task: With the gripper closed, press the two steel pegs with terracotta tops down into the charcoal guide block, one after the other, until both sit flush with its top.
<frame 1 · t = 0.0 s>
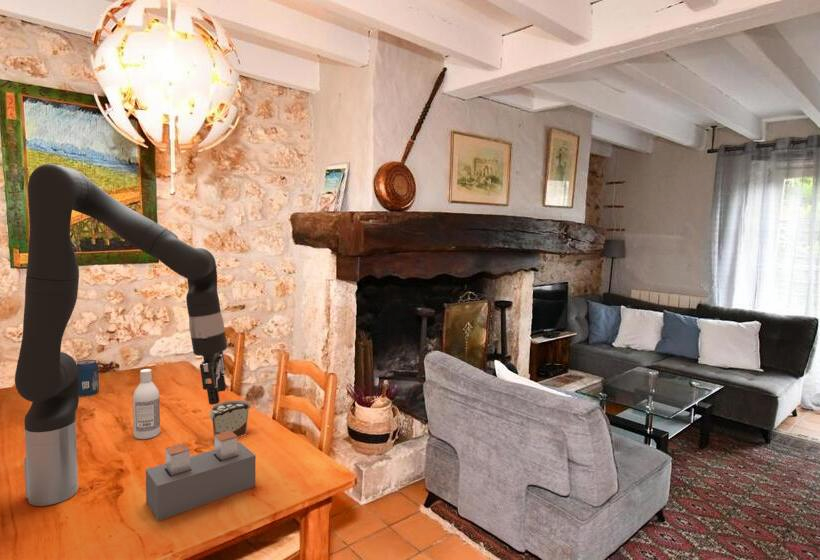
hand: (218, 397, 114), 22 cm above the table, tool pointing down, fingers open, 8 cm apart
peg near: (177, 464, 107), point 9 cm above the table, slide at 5.0 cm
soda can: (87, 394, 172), on the table
guide block: (202, 494, 112), on the table
half cake: (226, 437, 142), on the table
bath foam: (147, 435, 141), on the table
peg far: (225, 450, 115), point 9 cm above the table, slide at 5.0 cm
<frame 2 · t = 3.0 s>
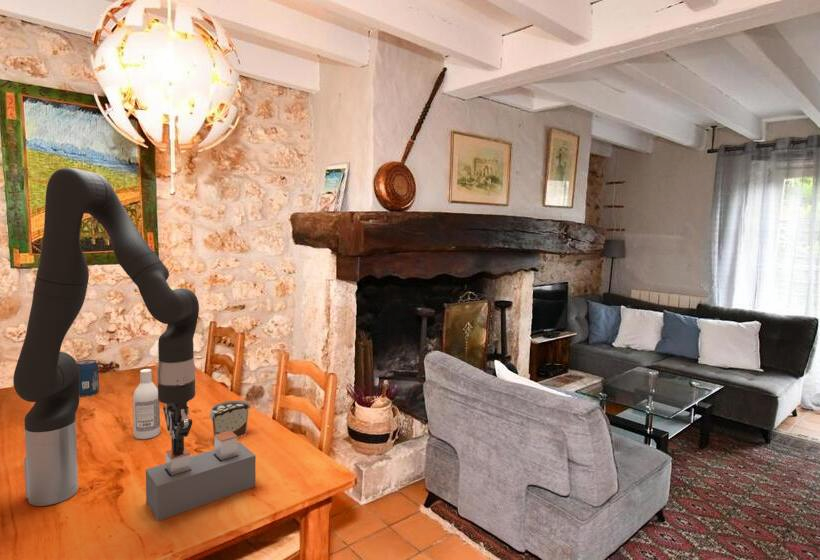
hand: (177, 452, 107), 12 cm above the table, tool pointing down, fingers closed
peg near: (177, 467, 107), point 8 cm above the table, slide at 4.1 cm, touching gripper
everything else where it was.
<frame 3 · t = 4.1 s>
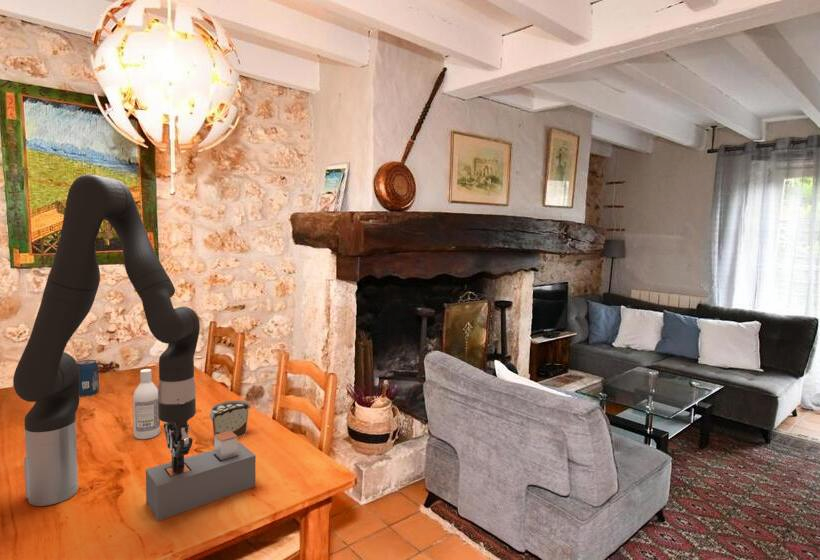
hand: (178, 469, 107), 8 cm above the table, tool pointing down, fingers closed
peg near: (178, 485, 108), point 4 cm above the table, slide at -0.1 cm, touching gripper
everything else where it was.
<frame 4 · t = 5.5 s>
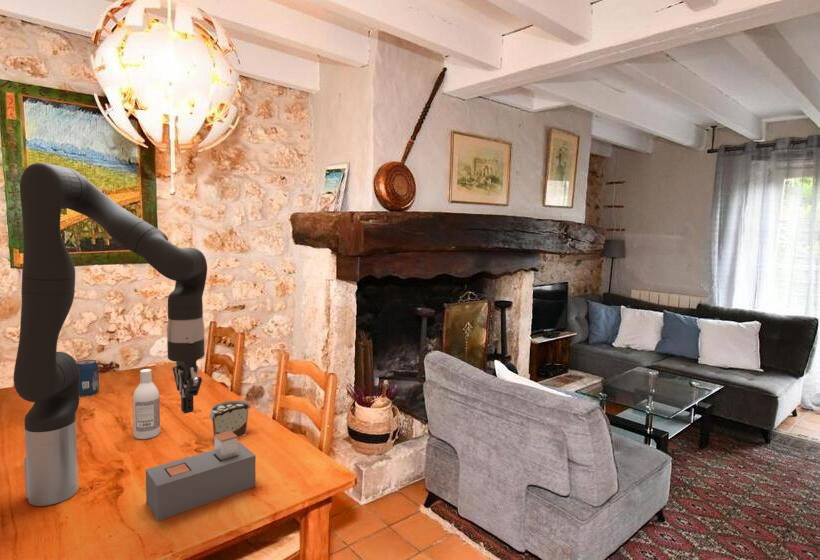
hand: (187, 411, 107), 21 cm above the table, tool pointing down, fingers closed
peg near: (178, 485, 108), point 4 cm above the table, slide at -0.1 cm
everything else where it was.
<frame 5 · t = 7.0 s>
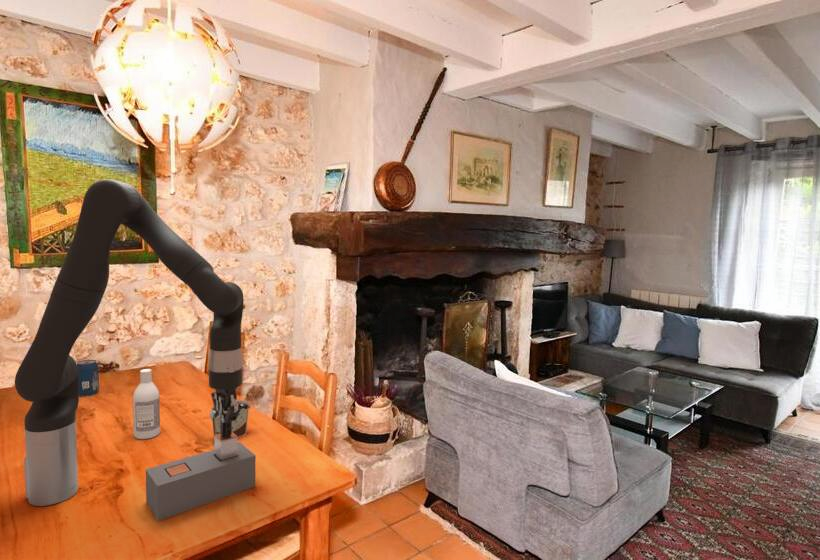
hand: (226, 435, 114), 13 cm above the table, tool pointing down, fingers closed
peg far: (225, 450, 115), point 9 cm above the table, slide at 5.0 cm, touching gripper
everything else where it was.
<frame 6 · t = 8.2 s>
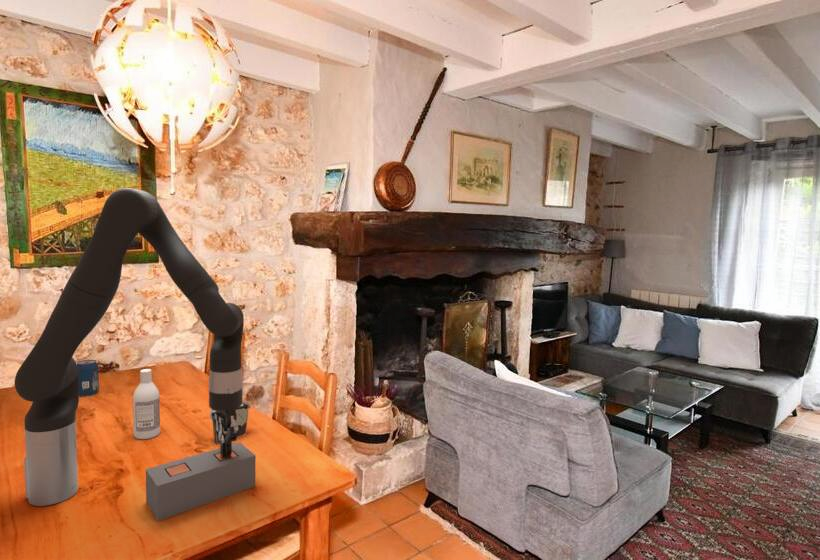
hand: (226, 455, 115), 8 cm above the table, tool pointing down, fingers closed
peg far: (225, 469, 115), point 4 cm above the table, slide at -0.1 cm, touching gripper
everything else where it was.
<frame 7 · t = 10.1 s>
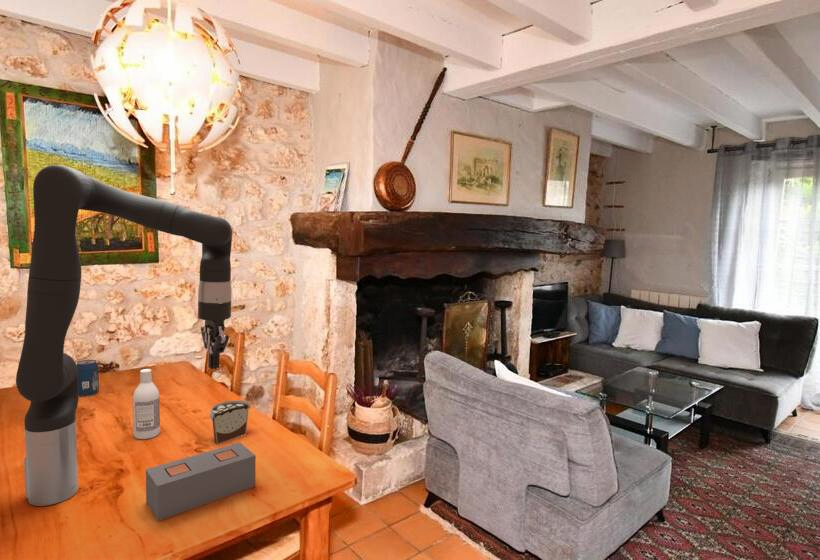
hand: (213, 367, 117), 29 cm above the table, tool pointing down, fingers closed
peg far: (225, 469, 115), point 4 cm above the table, slide at -0.1 cm
everything else where it was.
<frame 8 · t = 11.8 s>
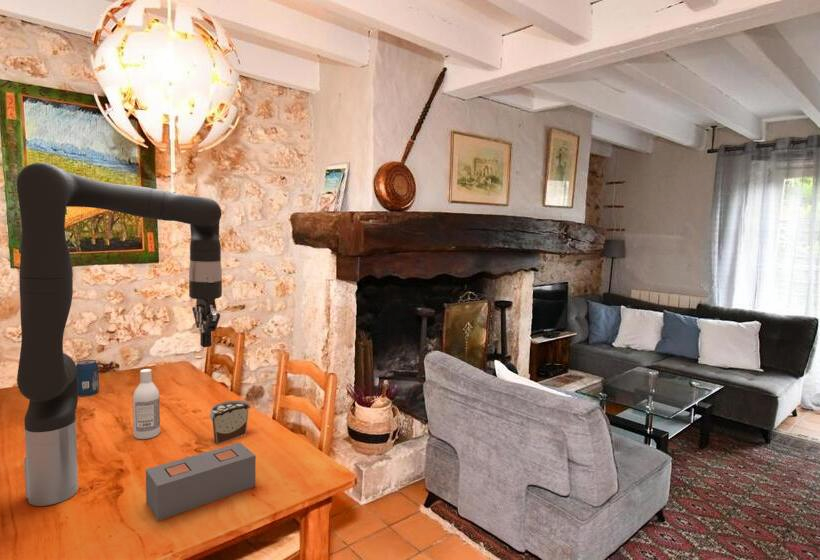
hand: (206, 346, 119), 33 cm above the table, tool pointing down, fingers closed
nothing on the table moved.
at the end: peg near slide at -0.1 cm; peg far slide at -0.1 cm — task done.
